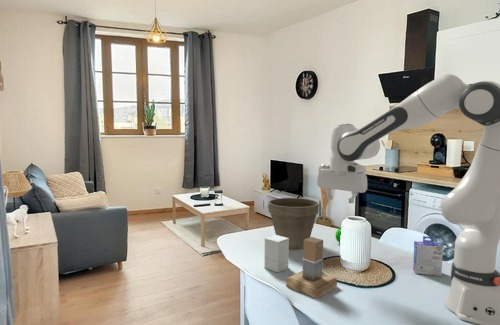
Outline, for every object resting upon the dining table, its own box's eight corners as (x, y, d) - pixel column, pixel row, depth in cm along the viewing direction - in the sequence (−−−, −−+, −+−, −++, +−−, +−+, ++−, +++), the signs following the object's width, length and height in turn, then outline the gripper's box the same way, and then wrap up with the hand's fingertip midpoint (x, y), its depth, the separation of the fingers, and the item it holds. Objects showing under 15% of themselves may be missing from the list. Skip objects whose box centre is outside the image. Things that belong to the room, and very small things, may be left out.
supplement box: (289, 268, 143) (289, 238, 142) (277, 273, 138) (278, 241, 137) (275, 263, 148) (275, 234, 147) (263, 268, 143) (264, 237, 142)
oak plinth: (336, 286, 127) (337, 277, 126) (316, 298, 117) (317, 289, 117) (307, 276, 136) (307, 267, 135) (286, 286, 126) (286, 277, 126)
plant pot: (256, 243, 175) (257, 200, 173) (289, 234, 191) (290, 195, 189) (295, 257, 156) (296, 209, 154) (327, 245, 173) (329, 202, 171)
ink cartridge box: (437, 271, 143) (440, 236, 142) (442, 276, 138) (444, 240, 136) (411, 268, 145) (414, 234, 144) (415, 274, 140) (417, 238, 138)
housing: (322, 277, 126) (324, 240, 125) (314, 282, 122) (315, 243, 121) (310, 273, 130) (311, 236, 129) (301, 277, 126) (302, 239, 125)
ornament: (347, 241, 181) (348, 222, 180) (354, 246, 173) (355, 226, 172) (332, 241, 180) (333, 222, 179) (338, 246, 172) (339, 226, 171)
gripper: (314, 164, 141) (313, 198, 142) (362, 168, 126) (360, 206, 128) (323, 163, 145) (321, 196, 146) (370, 167, 131) (368, 204, 132)
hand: (340, 201), depth 137 cm, fingers open, 8 cm apart
